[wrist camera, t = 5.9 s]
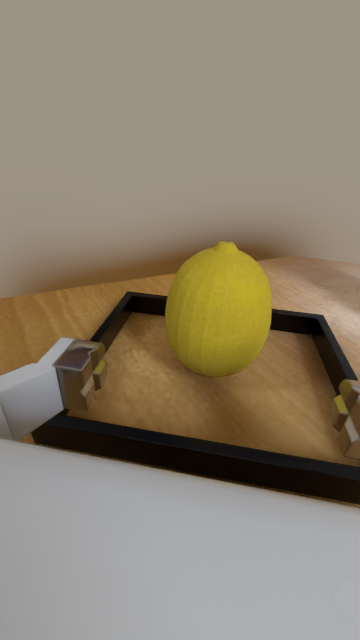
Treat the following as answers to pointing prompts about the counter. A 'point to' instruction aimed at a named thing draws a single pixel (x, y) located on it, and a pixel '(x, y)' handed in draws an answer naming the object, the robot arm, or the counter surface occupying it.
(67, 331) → the counter surface
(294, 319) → the black square frame
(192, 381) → the counter surface
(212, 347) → the lemon
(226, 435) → the counter surface
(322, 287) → the counter surface
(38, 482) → the robot arm
